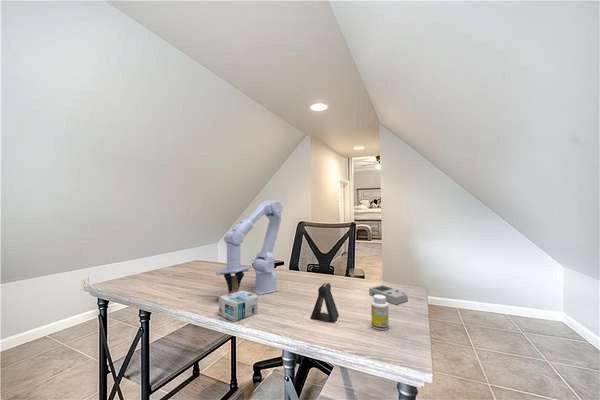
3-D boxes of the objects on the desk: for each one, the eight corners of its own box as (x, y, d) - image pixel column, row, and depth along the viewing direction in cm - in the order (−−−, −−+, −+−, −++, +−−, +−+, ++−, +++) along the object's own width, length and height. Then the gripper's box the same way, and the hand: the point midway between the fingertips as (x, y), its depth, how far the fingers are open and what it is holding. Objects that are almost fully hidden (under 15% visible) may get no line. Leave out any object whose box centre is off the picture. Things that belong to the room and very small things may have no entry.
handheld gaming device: (395, 306, 109) (395, 296, 109) (368, 295, 121) (368, 287, 121) (409, 302, 113) (409, 293, 113) (382, 292, 126) (382, 284, 126)
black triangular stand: (339, 316, 98) (338, 283, 98) (334, 323, 92) (334, 288, 92) (316, 313, 101) (315, 281, 101) (310, 319, 96) (310, 285, 96)
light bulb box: (258, 296, 101) (234, 303, 93) (258, 313, 101) (233, 322, 93) (242, 290, 108) (218, 296, 100) (241, 306, 108) (217, 314, 100)
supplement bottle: (375, 321, 93) (375, 292, 93) (391, 326, 89) (391, 296, 90) (368, 327, 89) (368, 296, 89) (384, 332, 85) (384, 300, 85)
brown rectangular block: (234, 296, 118) (232, 275, 120) (238, 297, 113) (237, 275, 115) (228, 297, 117) (227, 276, 119) (233, 298, 112) (231, 276, 114)
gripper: (219, 262, 108) (219, 295, 108) (252, 258, 116) (252, 289, 116) (214, 259, 114) (214, 291, 114) (246, 255, 122) (246, 285, 122)
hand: (233, 290), depth 115 cm, fingers closed on brown rectangular block, 2 cm apart
